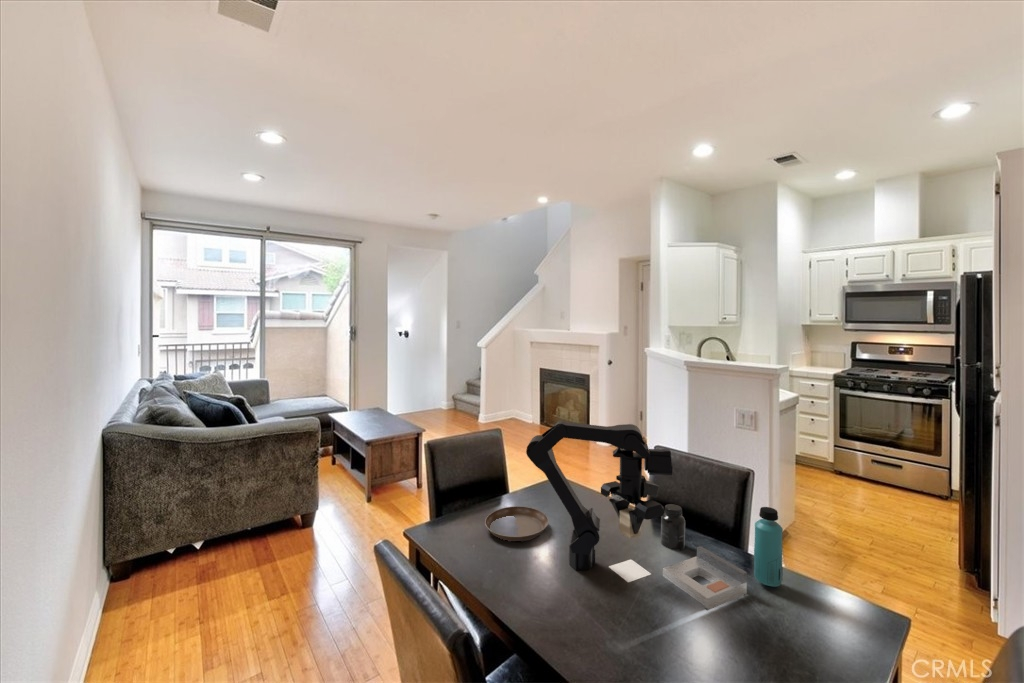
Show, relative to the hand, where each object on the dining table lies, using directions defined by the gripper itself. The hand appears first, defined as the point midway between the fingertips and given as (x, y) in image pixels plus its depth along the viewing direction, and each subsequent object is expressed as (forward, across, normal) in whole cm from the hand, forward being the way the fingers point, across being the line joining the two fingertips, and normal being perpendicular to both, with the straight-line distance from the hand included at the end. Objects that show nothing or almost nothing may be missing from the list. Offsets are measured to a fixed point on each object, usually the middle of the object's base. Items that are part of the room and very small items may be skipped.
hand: (630, 530), depth 119 cm
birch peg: (+1, 0, 0) cm, 1 cm away
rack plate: (+12, -13, -13) cm, 22 cm away
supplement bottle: (+12, +5, -21) cm, 25 cm away
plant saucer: (+12, +36, +16) cm, 41 cm away
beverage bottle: (+12, -20, -28) cm, 36 cm away
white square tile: (+12, 0, 0) cm, 12 cm away
